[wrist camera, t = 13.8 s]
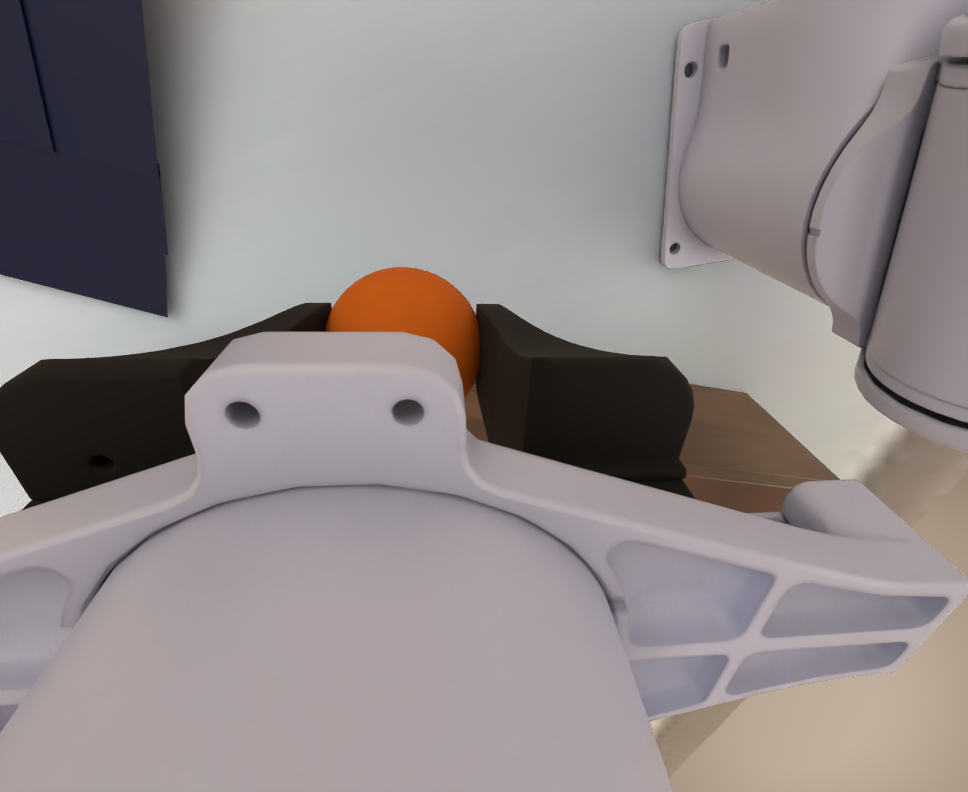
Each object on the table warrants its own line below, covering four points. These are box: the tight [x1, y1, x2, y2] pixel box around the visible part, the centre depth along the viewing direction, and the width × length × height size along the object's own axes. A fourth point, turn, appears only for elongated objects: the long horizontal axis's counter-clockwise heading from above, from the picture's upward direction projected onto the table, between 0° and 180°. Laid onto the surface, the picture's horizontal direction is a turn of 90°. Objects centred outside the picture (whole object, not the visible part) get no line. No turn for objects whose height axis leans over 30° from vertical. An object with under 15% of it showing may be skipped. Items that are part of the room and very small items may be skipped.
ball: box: [325, 267, 481, 398], centre depth 13 cm, size 4×4×4 cm
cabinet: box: [679, 384, 840, 513], centre depth 26 cm, size 15×13×9 cm
